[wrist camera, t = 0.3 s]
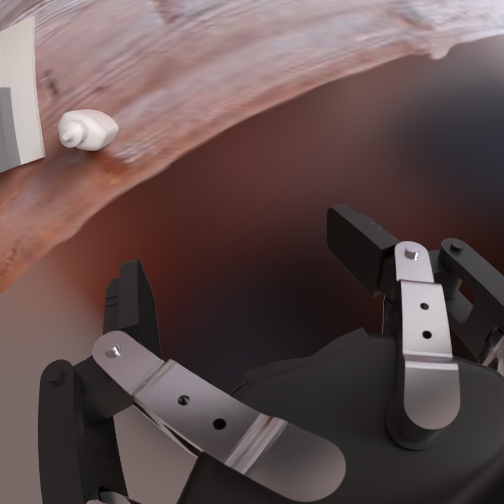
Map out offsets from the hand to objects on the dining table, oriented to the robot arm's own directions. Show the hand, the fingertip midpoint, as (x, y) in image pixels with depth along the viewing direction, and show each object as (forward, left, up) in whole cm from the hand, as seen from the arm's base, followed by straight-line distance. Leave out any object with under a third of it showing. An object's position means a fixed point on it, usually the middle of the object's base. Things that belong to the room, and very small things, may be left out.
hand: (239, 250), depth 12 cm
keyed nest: (-13, -28, -27) cm, 41 cm away
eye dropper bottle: (-5, -12, -27) cm, 30 cm away
